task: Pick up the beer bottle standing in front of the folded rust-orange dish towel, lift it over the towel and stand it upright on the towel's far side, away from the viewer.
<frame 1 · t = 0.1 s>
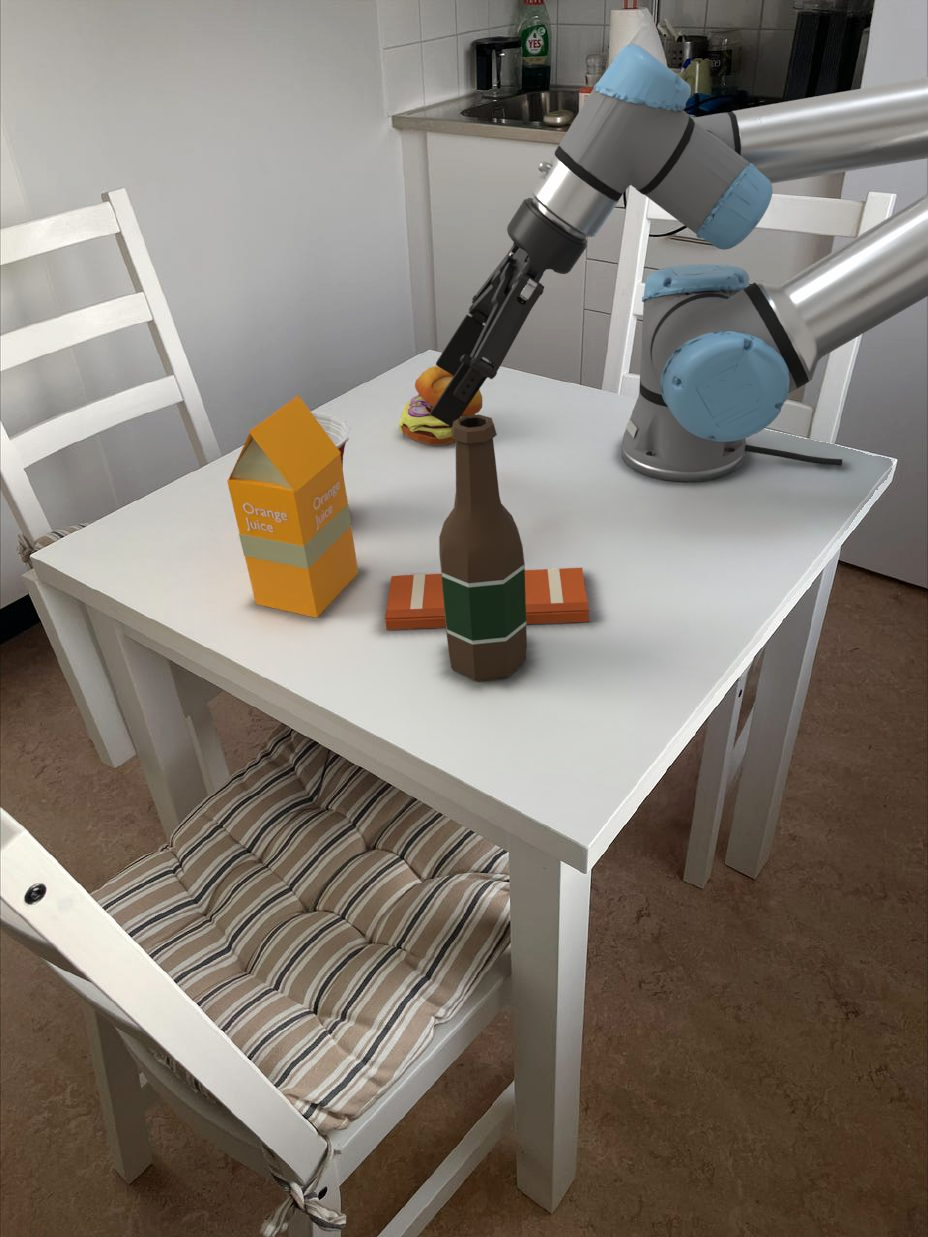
hand: (443, 393, 102), 15 cm above the table, tool tilted 35°, fingers open, 13 cm apart
beer bottle: (487, 659, 89), on the table
orange juice: (308, 589, 101), on the table
plastic cup: (317, 523, 112), on the table
cheeseburger: (442, 434, 130), on the table
towel: (486, 602, 97), on the table
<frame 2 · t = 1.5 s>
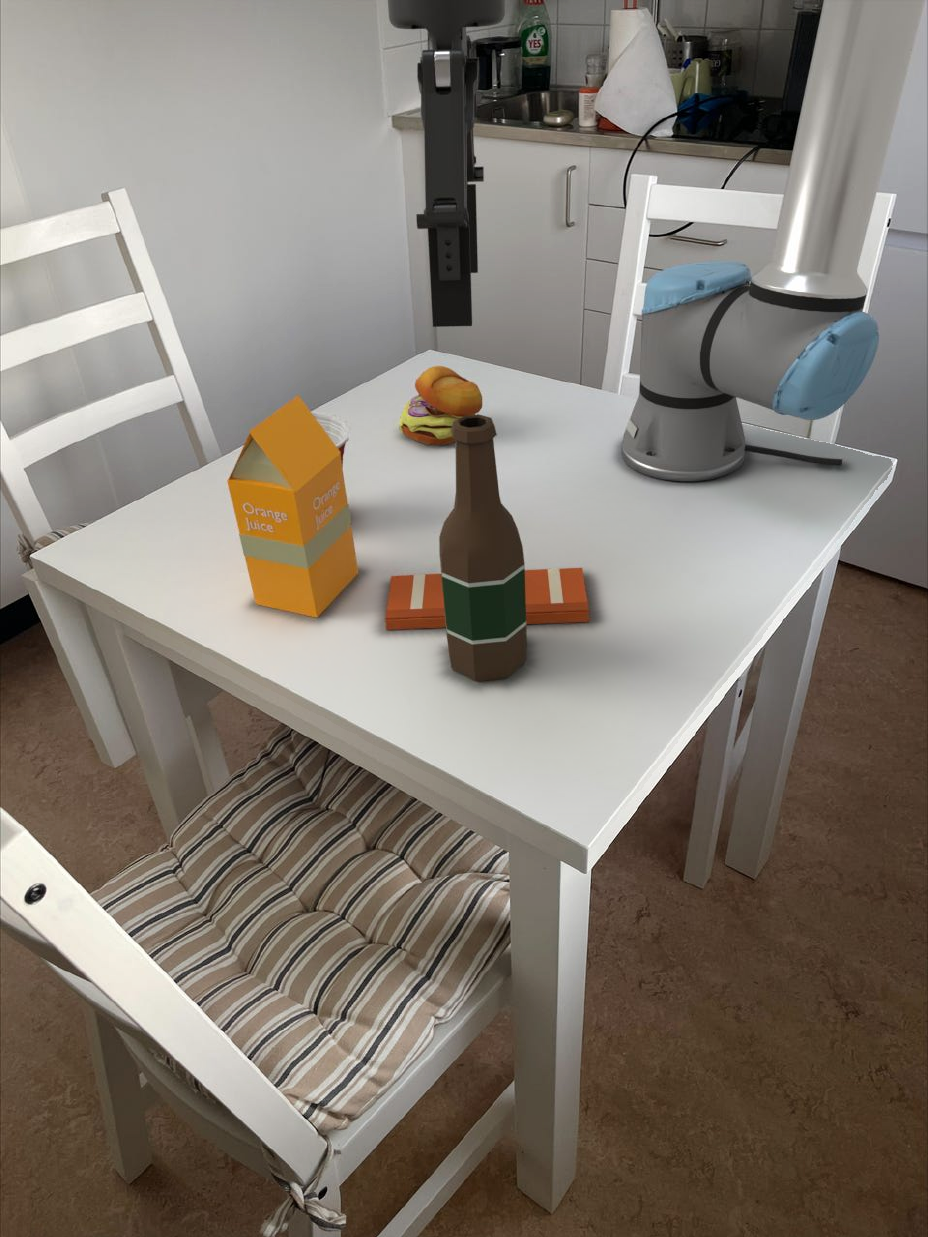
hand: (457, 296, 71), 33 cm above the table, tool pointing down, fingers open, 13 cm apart
nothing on the table moved.
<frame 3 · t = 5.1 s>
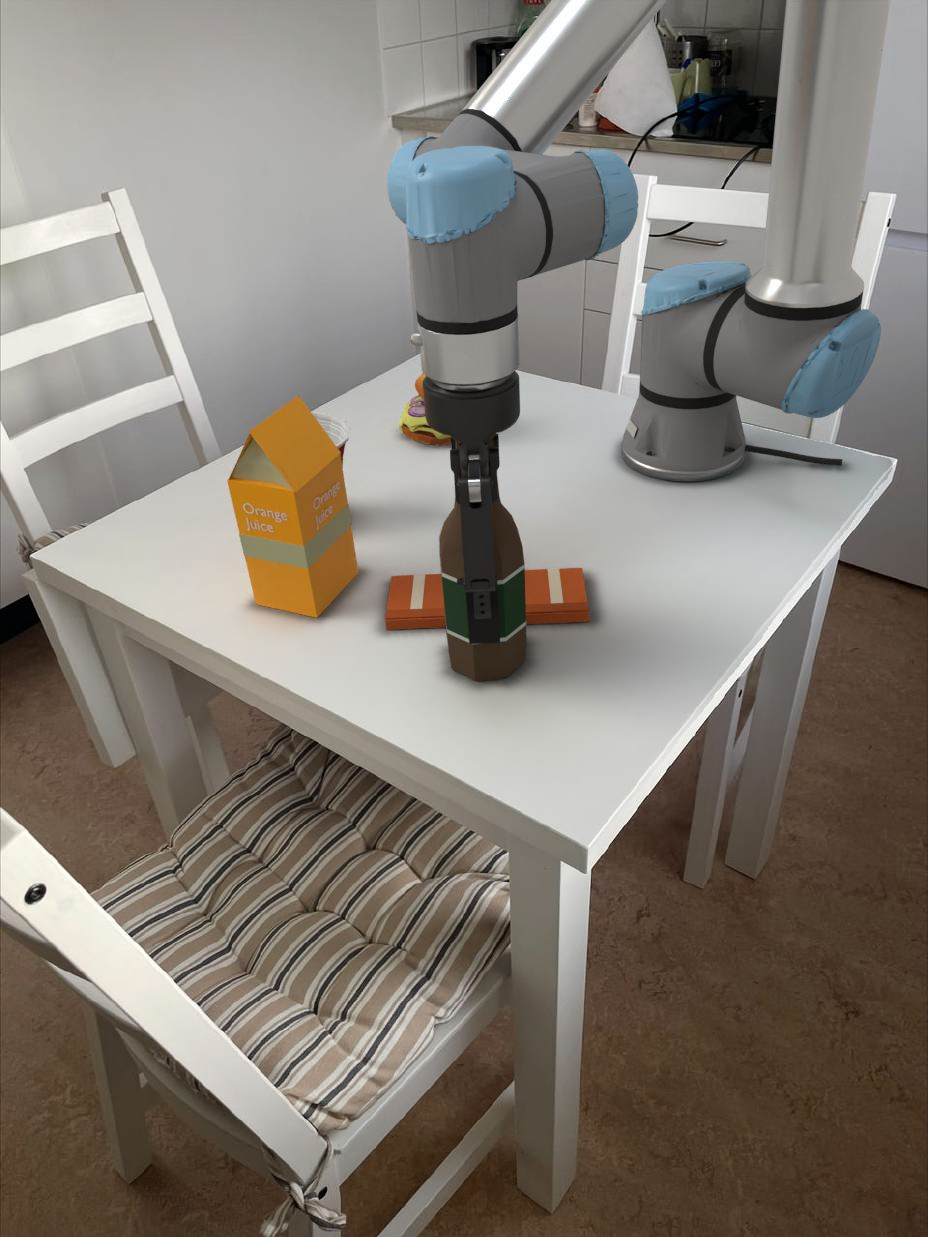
hand: (484, 613, 86), 5 cm above the table, tool pointing down, fingers closed on beer bottle, 7 cm apart
beer bottle: (487, 659, 89), on the table, touching gripper
everything else where it was.
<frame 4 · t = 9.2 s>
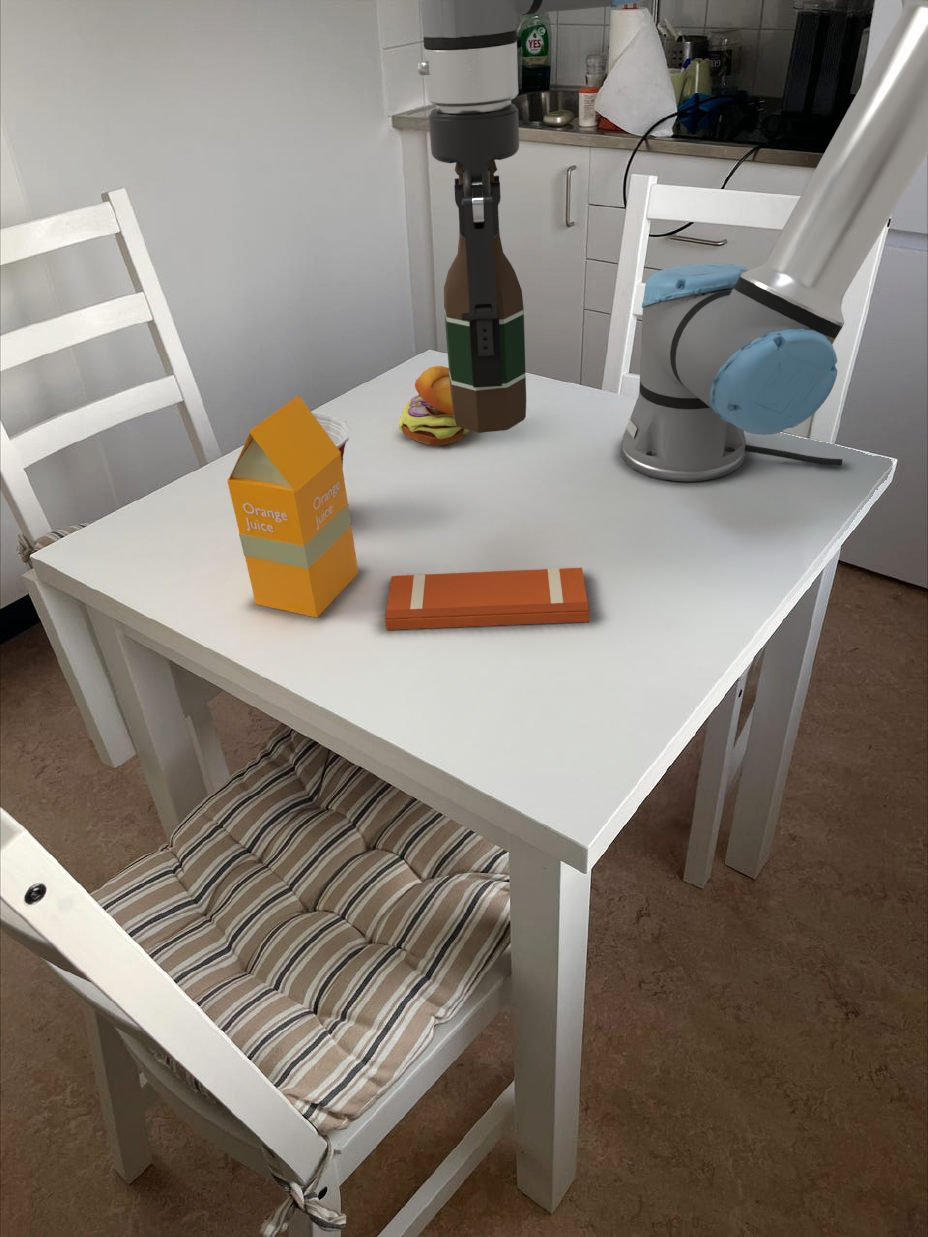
hand: (487, 368, 92), 21 cm above the table, tool pointing down, fingers closed on beer bottle, 7 cm apart
beer bottle: (489, 419, 95), point 16 cm above the table, touching gripper
everything else where it was.
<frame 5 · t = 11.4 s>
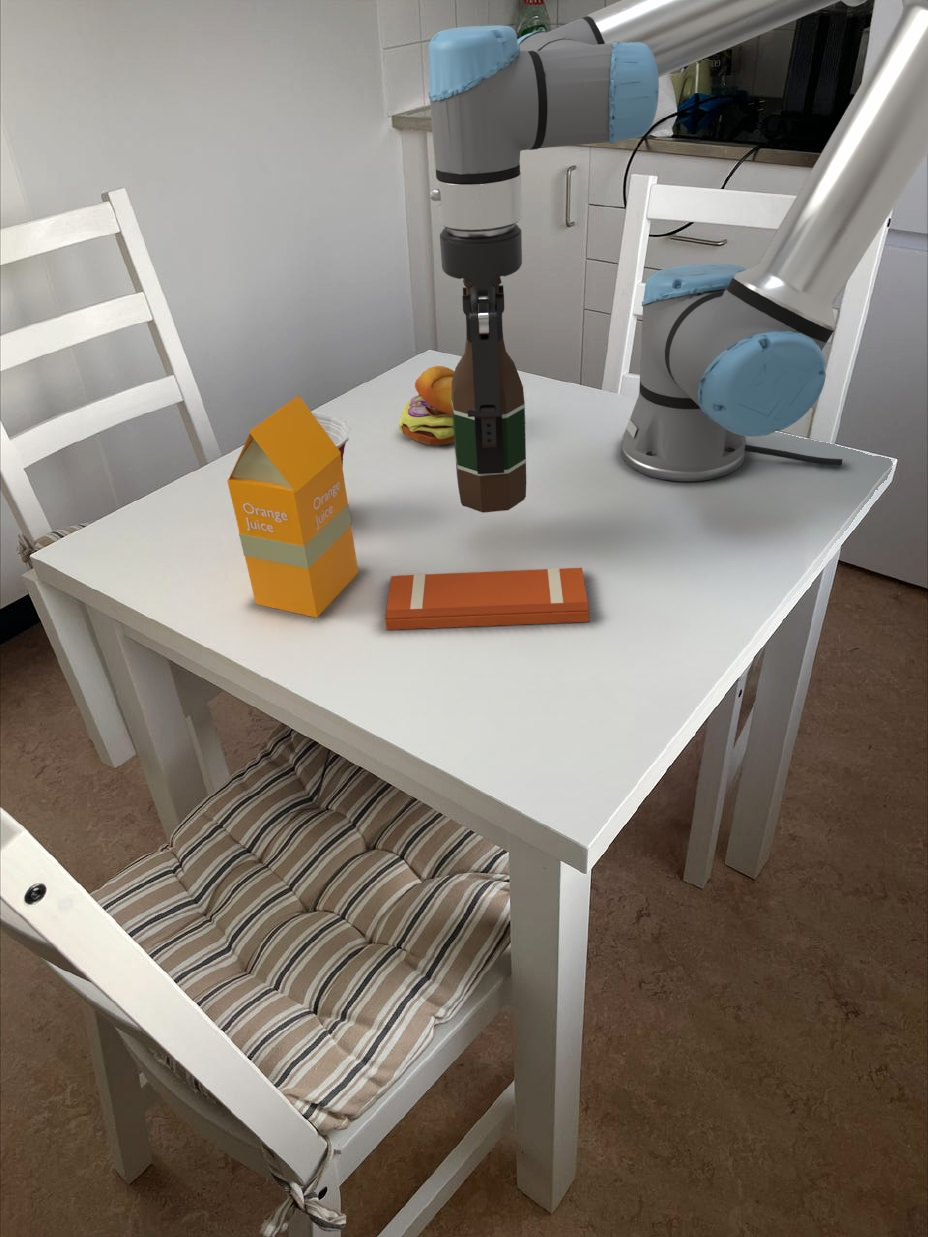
hand: (490, 453, 100), 11 cm above the table, tool pointing down, fingers closed on beer bottle, 7 cm apart
beer bottle: (492, 498, 103), point 5 cm above the table, touching gripper
everything else where it was.
when the fingers open (5 cm above the table, at t = 13.2 s): beer bottle stays where it is, on the table.
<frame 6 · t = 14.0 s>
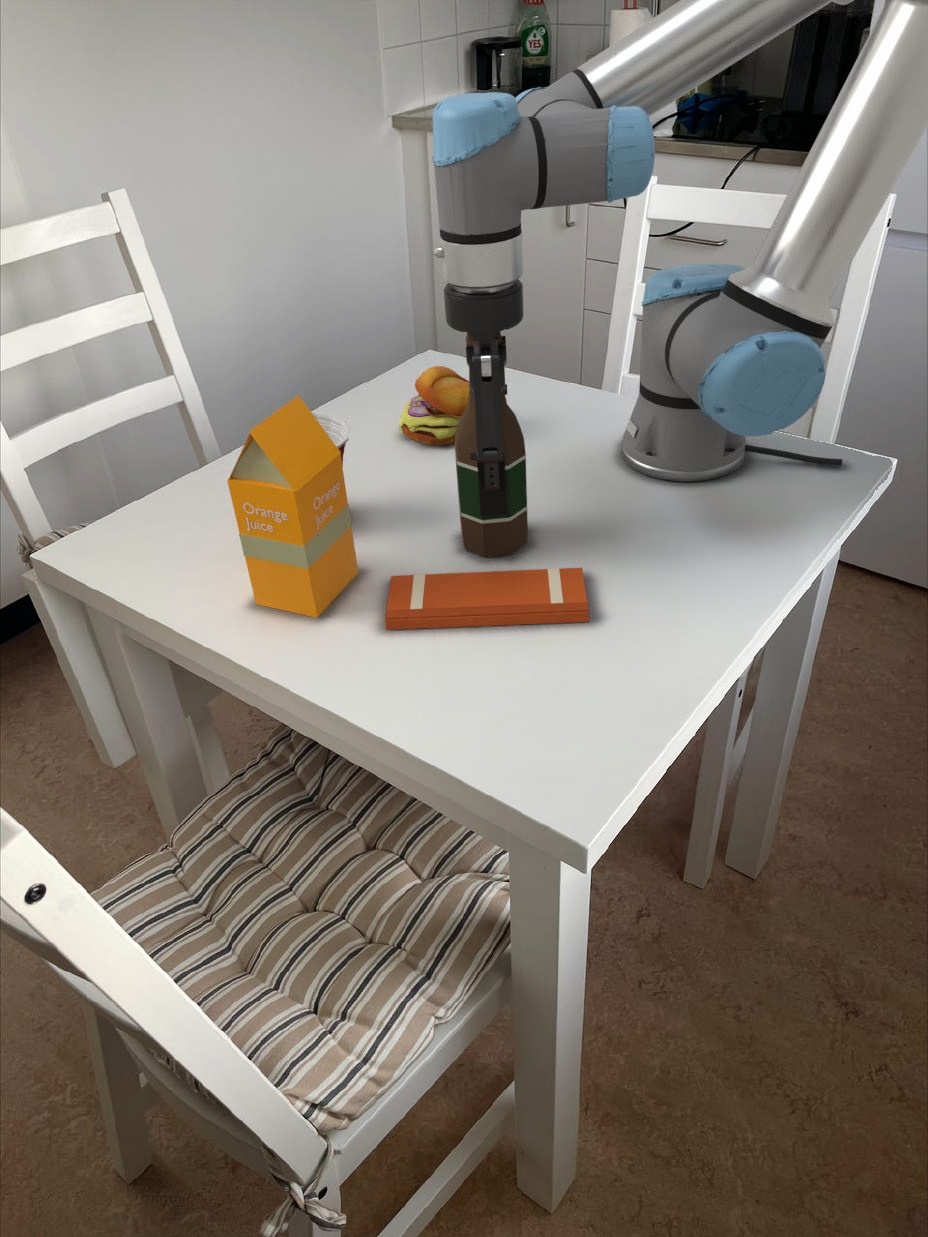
hand: (493, 482, 102), 7 cm above the table, tool pointing down, fingers open, 13 cm apart
beer bottle: (494, 542, 106), on the table
everything else where it was.
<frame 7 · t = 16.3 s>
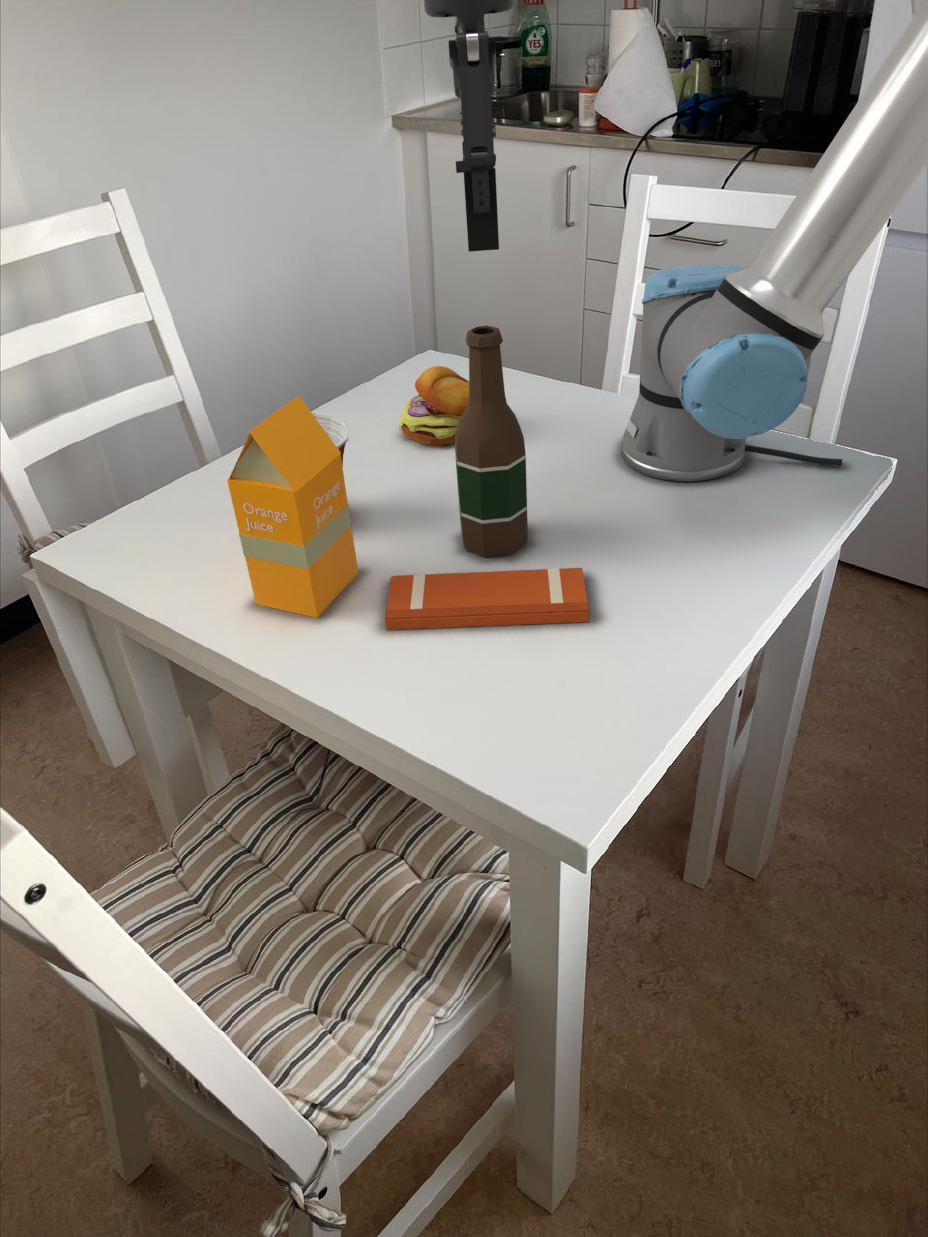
hand: (481, 230, 89), 33 cm above the table, tool pointing down, fingers open, 13 cm apart
nothing on the table moved.
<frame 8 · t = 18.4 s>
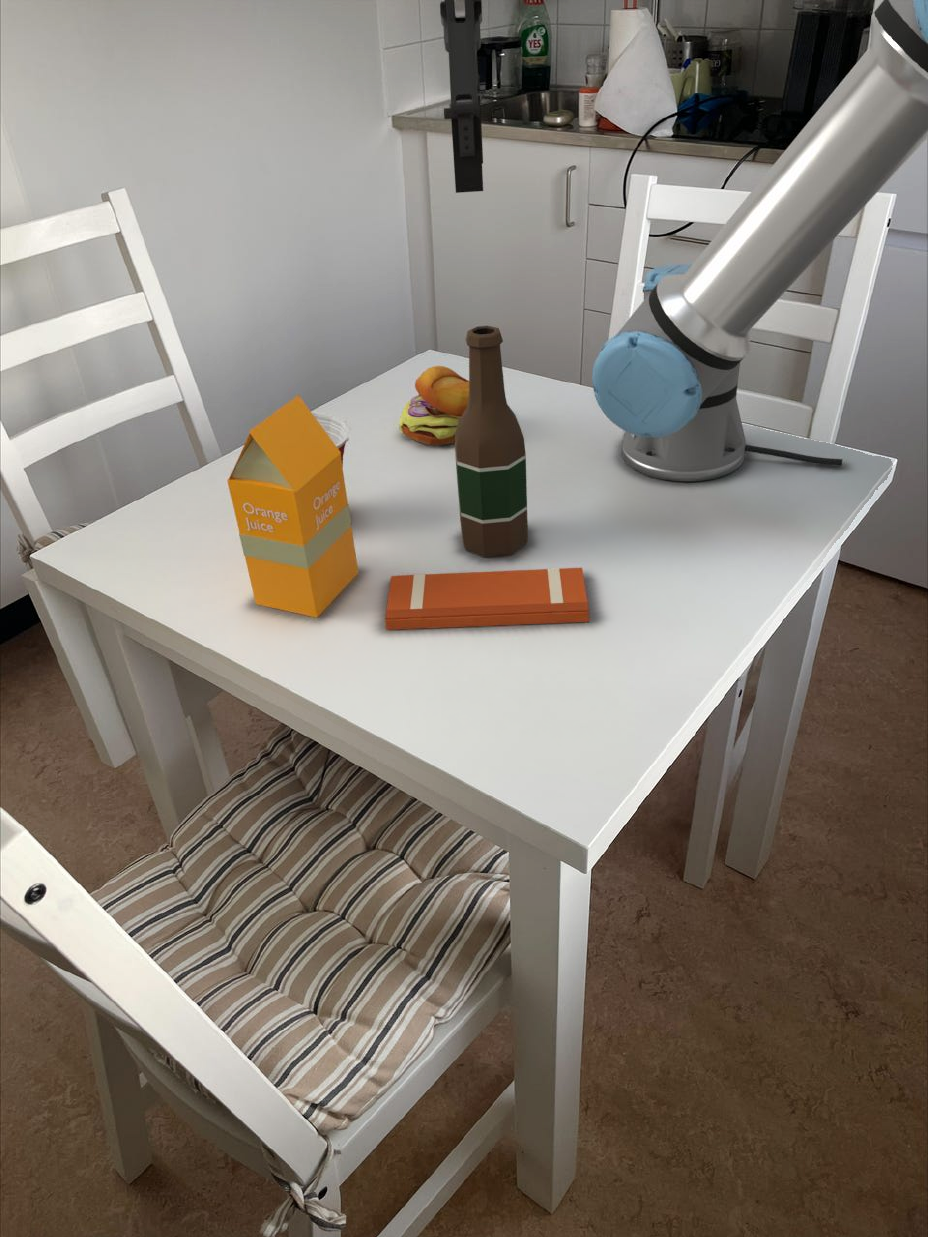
hand: (470, 176, 99), 35 cm above the table, tool pointing down, fingers open, 13 cm apart
nothing on the table moved.
at the end: beer bottle inside the target area (2.5 cm from its centre), on the table; beer bottle tilted 0°; beer bottle touching table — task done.
